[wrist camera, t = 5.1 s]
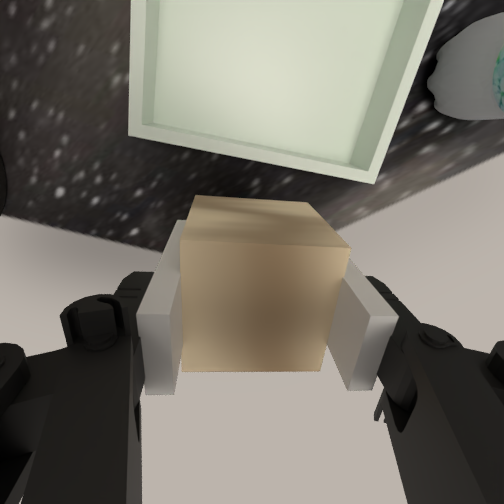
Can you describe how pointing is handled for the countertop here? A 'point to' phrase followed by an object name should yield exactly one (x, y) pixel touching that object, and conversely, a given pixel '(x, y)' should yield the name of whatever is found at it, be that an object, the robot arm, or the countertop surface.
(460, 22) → the countertop surface
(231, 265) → the cube
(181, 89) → the tote
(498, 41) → the bottle
